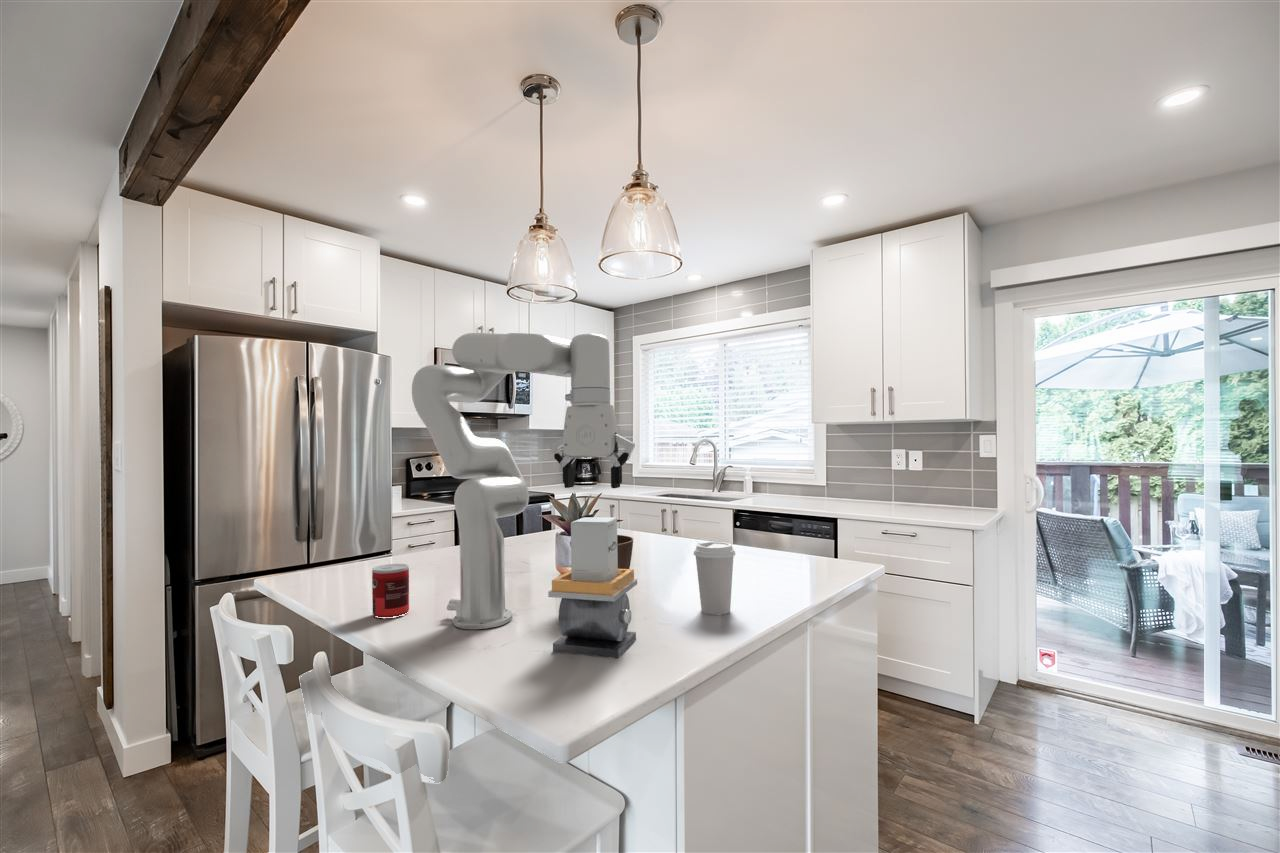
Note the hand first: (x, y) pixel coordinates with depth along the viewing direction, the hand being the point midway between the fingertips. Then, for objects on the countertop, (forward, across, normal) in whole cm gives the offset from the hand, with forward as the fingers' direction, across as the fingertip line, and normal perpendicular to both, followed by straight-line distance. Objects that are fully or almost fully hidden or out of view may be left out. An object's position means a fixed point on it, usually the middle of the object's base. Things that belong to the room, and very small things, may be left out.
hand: (592, 487), depth 112 cm
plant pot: (+30, -8, +24) cm, 40 cm away
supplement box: (+19, 0, 0) cm, 19 cm away
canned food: (+31, -54, +7) cm, 62 cm away
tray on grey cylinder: (+30, 0, 0) cm, 30 cm away
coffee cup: (+30, +18, +28) cm, 45 cm away
